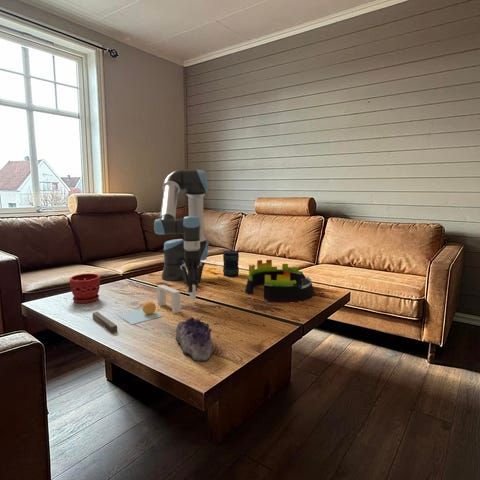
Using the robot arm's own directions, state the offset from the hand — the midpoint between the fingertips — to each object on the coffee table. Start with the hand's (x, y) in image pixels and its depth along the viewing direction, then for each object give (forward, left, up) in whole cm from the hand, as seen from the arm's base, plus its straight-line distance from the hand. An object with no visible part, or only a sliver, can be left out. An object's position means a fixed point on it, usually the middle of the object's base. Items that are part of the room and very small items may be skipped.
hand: (192, 298), depth 163 cm
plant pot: (+37, -36, -2) cm, 52 cm away
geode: (+26, +41, -2) cm, 49 cm away
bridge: (+13, 0, -2) cm, 13 cm away
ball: (+23, +1, +1) cm, 23 cm away
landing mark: (+27, 0, -2) cm, 27 cm away
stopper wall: (+42, 0, -2) cm, 42 cm away
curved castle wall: (-44, +16, -3) cm, 47 cm away
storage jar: (-48, -28, -2) cm, 56 cm away
